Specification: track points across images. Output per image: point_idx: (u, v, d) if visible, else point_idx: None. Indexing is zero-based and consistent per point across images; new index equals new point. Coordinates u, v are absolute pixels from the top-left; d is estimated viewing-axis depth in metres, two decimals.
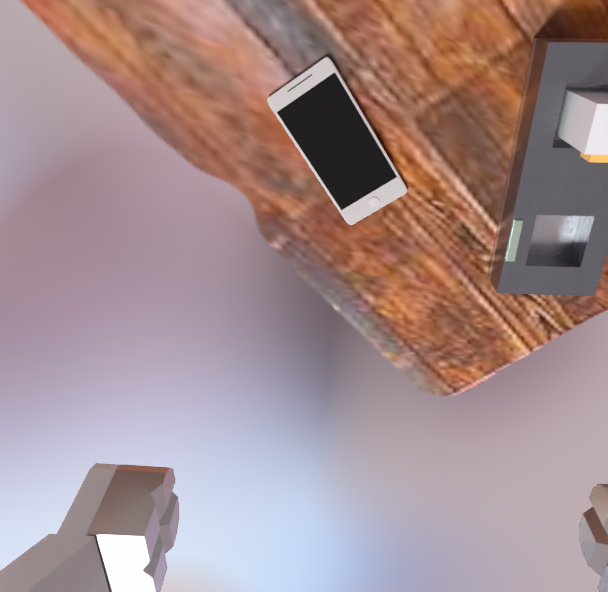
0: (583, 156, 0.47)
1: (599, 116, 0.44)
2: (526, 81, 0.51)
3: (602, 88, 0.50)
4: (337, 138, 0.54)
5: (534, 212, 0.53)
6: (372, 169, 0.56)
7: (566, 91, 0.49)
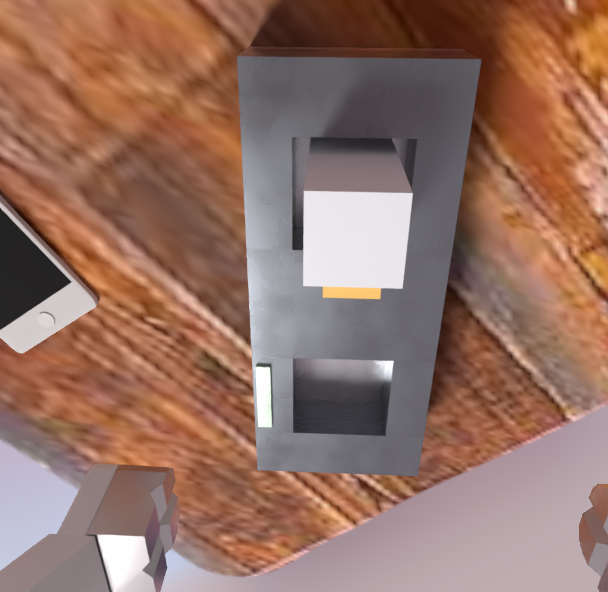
0: None
1: (315, 215, 0.21)
2: None
3: (384, 140, 0.27)
4: None
5: (287, 354, 0.30)
6: (26, 269, 0.32)
7: (310, 147, 0.26)
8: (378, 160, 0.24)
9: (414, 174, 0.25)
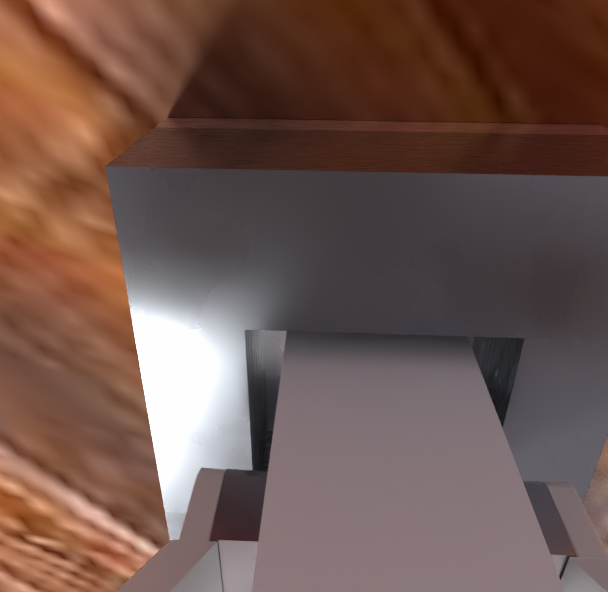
0: None
1: None
2: None
3: None
4: None
5: None
6: None
7: None
8: (441, 395, 0.10)
9: (512, 401, 0.12)
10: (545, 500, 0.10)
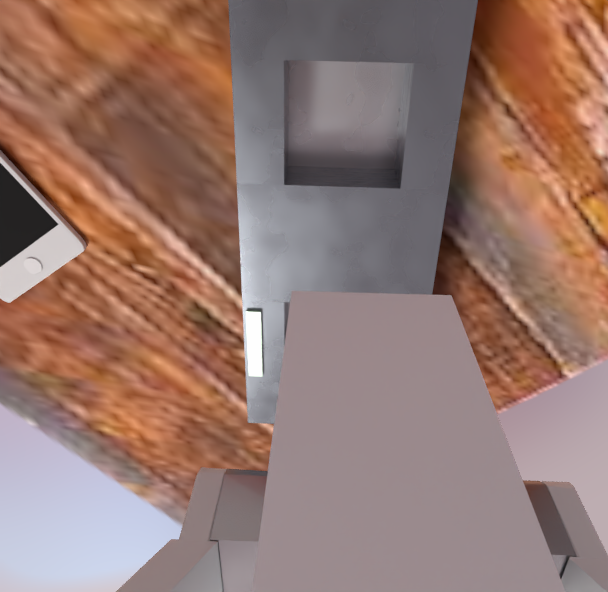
0: None
1: None
2: None
3: (437, 300, 0.14)
4: None
5: (278, 298, 0.29)
6: (11, 211, 0.31)
7: None
8: (441, 394, 0.10)
9: (411, 102, 0.24)
10: (545, 500, 0.10)
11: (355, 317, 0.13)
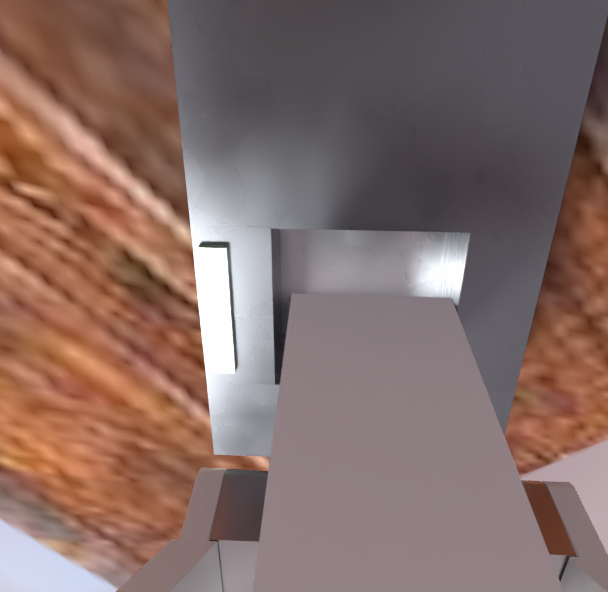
0: None
1: None
2: None
3: (437, 303, 0.14)
4: None
5: (260, 219, 0.15)
6: None
7: None
8: (440, 398, 0.10)
9: None
10: (545, 500, 0.10)
11: (355, 320, 0.13)
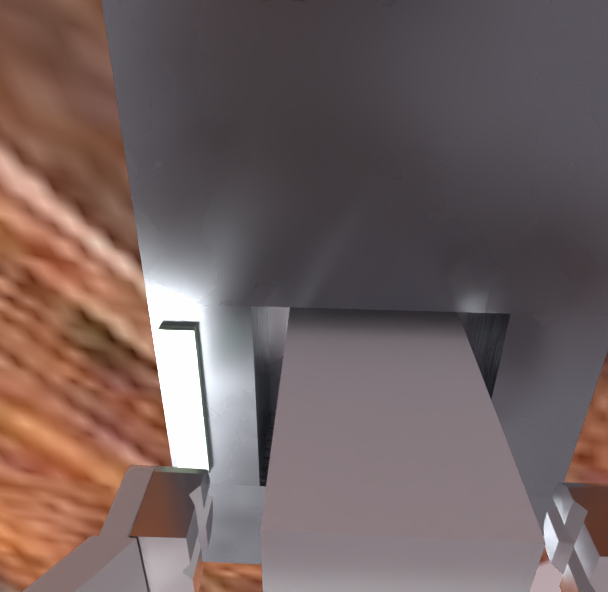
0: None
1: (292, 574, 0.08)
2: None
3: None
4: None
5: (237, 295, 0.12)
6: None
7: None
8: (432, 365, 0.11)
9: None
10: None
11: None
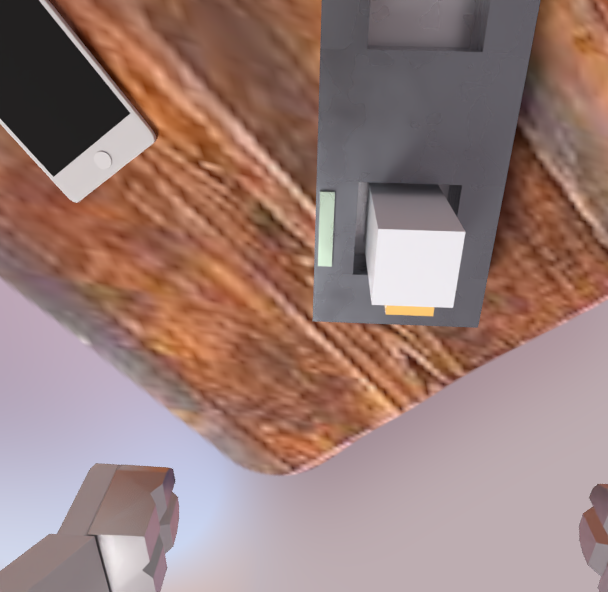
0: None
1: (386, 248, 0.26)
2: None
3: None
4: (9, 45, 0.31)
5: (353, 177, 0.29)
6: (84, 100, 0.32)
7: (369, 189, 0.31)
8: (431, 202, 0.29)
9: None
10: None
11: (397, 186, 0.31)
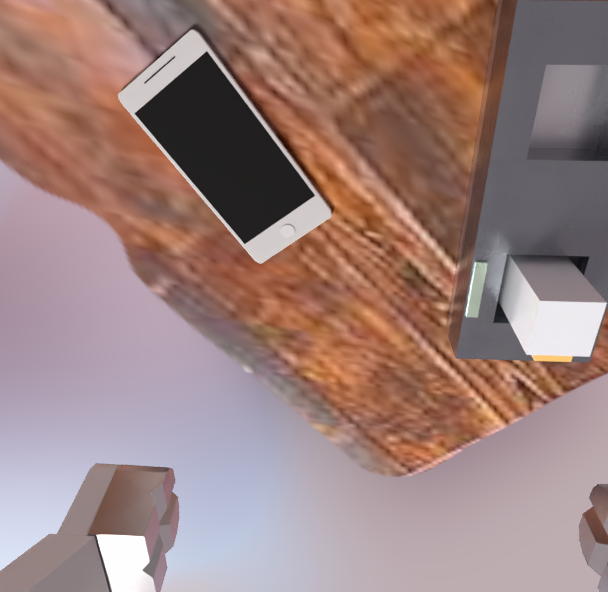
0: None
1: (543, 314, 0.34)
2: (489, 63, 0.35)
3: None
4: (224, 146, 0.38)
5: (503, 251, 0.37)
6: (279, 186, 0.40)
7: (509, 256, 0.39)
8: (566, 271, 0.37)
9: None
10: None
11: None
